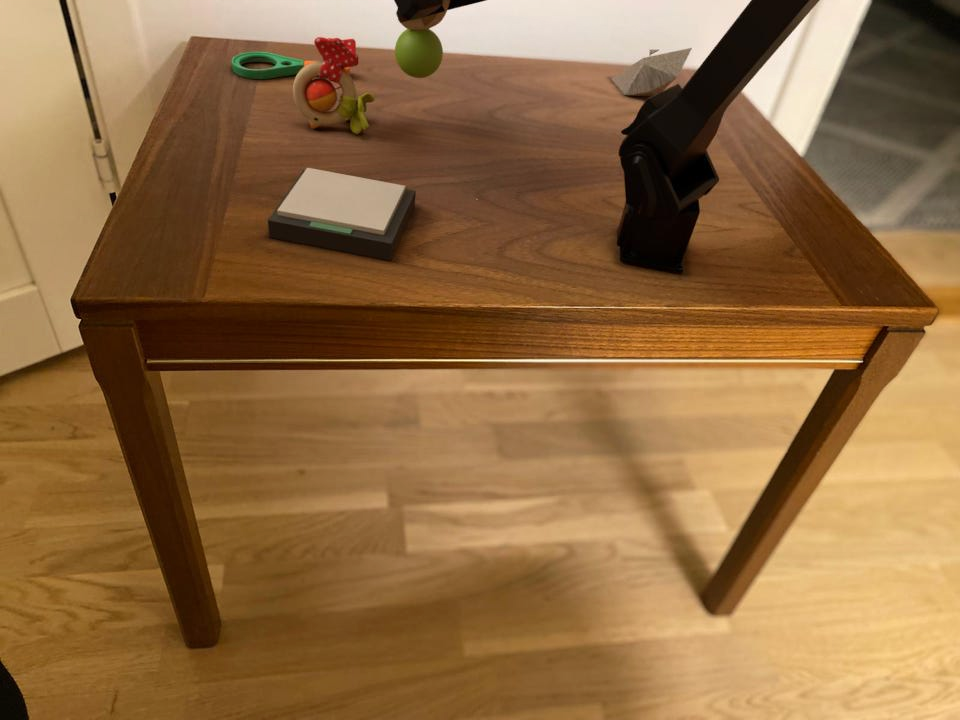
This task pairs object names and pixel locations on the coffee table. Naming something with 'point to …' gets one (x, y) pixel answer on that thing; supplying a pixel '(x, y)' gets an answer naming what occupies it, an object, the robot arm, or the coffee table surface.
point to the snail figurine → (420, 46)
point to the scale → (343, 213)
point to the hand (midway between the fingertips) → (415, 13)
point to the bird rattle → (331, 87)
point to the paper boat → (651, 73)
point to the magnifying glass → (281, 68)
